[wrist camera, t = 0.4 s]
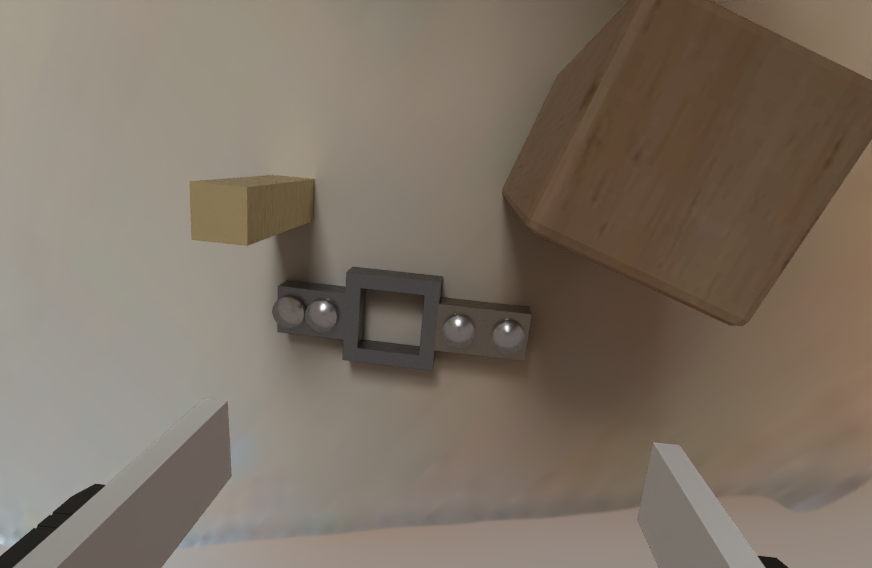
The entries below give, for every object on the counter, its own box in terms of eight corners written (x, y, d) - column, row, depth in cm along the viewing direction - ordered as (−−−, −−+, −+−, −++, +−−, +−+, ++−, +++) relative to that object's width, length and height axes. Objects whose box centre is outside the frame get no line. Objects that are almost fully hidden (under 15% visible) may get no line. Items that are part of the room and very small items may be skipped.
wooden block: (499, 194, 39) (522, 229, 19) (559, 69, 36) (655, -34, 17) (612, 247, 39) (746, 334, 20) (680, 127, 36) (911, 92, 17)
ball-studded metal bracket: (285, 259, 41) (272, 265, 39) (532, 286, 40) (535, 294, 38) (284, 343, 43) (272, 354, 41) (519, 371, 42) (522, 384, 40)
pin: (273, 174, 40) (189, 181, 28) (314, 179, 40) (246, 187, 28) (272, 216, 41) (191, 239, 29) (313, 220, 40) (247, 245, 29)
